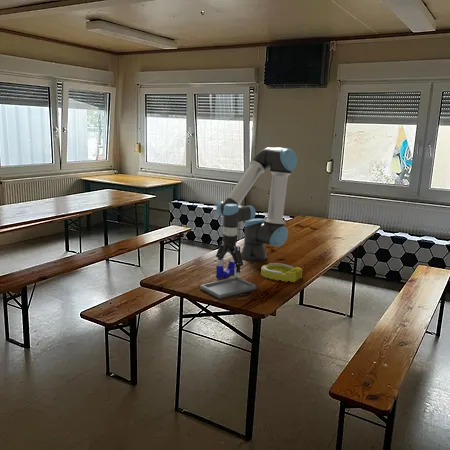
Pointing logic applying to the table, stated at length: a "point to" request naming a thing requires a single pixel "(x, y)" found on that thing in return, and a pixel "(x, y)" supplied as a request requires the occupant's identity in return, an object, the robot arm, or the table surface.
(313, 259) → the table surface
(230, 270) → the blue long stepped piece
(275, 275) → the yellow rounded low piece
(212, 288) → the tray
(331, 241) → the table surface
